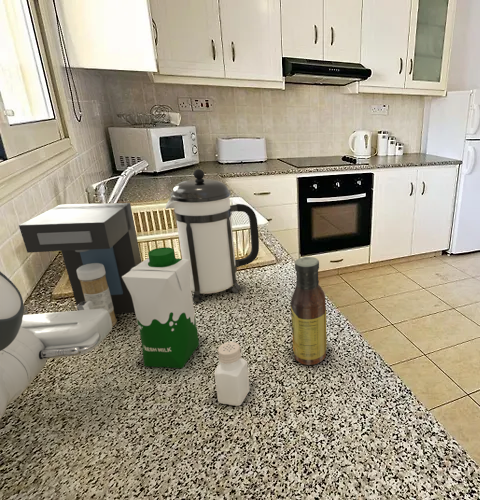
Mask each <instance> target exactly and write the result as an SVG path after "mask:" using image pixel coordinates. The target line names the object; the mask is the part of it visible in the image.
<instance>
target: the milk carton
mask: <svg viewBox="0 0 480 500" xmlns="http://www.w3.org/2000/svg"><path fill="white" fill-rule="evenodd" d="M147 255H148V258H145V259H144V260H143V261H142V262H141V263H140V264H138V265H137V266H135V267H133V268H132V269H131V270H130V271H129V272H128V273H126V274H125V275H124V276H122V279H123V280H124V282H125V284H126V286H127V288H128V290H129V292H130V294H131V296H132V300H133V305H134V309H135V312H134V314H135V317H136V323H137V328H138V331H139V337H140V343H141V350H142V358H143V367H149V368H150V367H153V368H168V369H169V368H172V369H183V368H184V367H185V365H186V364H187V362H189V360H190V358H191V357H192V356H193V354H194V353H195V351H196V350H197V348H198V347H199V346H200V340H199V334H198V333H199V332H198V327H197V320H196V314H195V313H196V312H195V307H194V306H195V305H194V302H193V294H192V292H193V291H191V285H190V271H189V260H188V259H182V258H176V255H175V250H174V248H172V247H167V246H166V247H165V246H164V247H158V248H154V249H151V250H150V251H148V252H147Z"/></svg>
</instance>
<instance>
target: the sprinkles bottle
mask: <svg viewBox="0 0 480 500" xmlns="http://www.w3.org/2000/svg"><path fill="white" fill-rule="evenodd" d="M76 271H77V276H78V279H79V280H80V282H81V286H82V290H83V294H84V298H85V301H92V303H93V307H94V308H93V309H106V310H107V311H108V312H109V314H110V317H111V321H112V328H113V327H114V326H115V325H116V324H117V323H118V320H117V318H116V314H114V308H113V303H112V299H111V295H110V291H109V287H108V284H107V281H106V277H105V275H106V274H105V273H106V272H105V268H104V265H103V264H100V263H91V264H86V265H83V266H81V267H79V268H78V269H77V270H76Z"/></svg>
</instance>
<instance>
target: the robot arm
mask: <svg viewBox="0 0 480 500" xmlns="http://www.w3.org/2000/svg"><path fill="white" fill-rule="evenodd" d="M77 308H78V309H77ZM93 308H94V307H93V303H92V301H84V302H80V304H78V305H76V309H77V310H66V311H55V312H41V313H29V310H28V307H27V306H26V305H25V304H24V299H23V297H22V293H21V292H20V289H18V287H17V286H16V285H15V283H14V282H12V280H11V279H10V278H9V277H7V276H6V275H5V273H3V272H2V271H0V420H1V419H2V417H3V416H4V415H5V412H6V410H7V408H8V405H9V404H10V403H12V402H14V401H15V400H16V399H18V398H19V397H20V396H21V395H22V394H23V393H24V392H25V391H26V390H27V388H28V387H29V386H30V384H31V383H32V382H33V381H34V380H35V378H36V377H38V375H39V374H40V373H41V371H43V369H44V368H45V366H46V364H47V360H48V359H57V358H65V357H66V358H68V357H76V356H81V355H85V354H87V353H90V352H91V351H93V350H94V349H95V348H97V347H98V346H99V345H100V344H101V343H102V342H103V341H104V340H105V339H106V338H107V336H108V335H110V332H111V331H112V330H113V327H112V321H111V317H110V314H109V312H108V311H107V310H106V309H93Z"/></svg>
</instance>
